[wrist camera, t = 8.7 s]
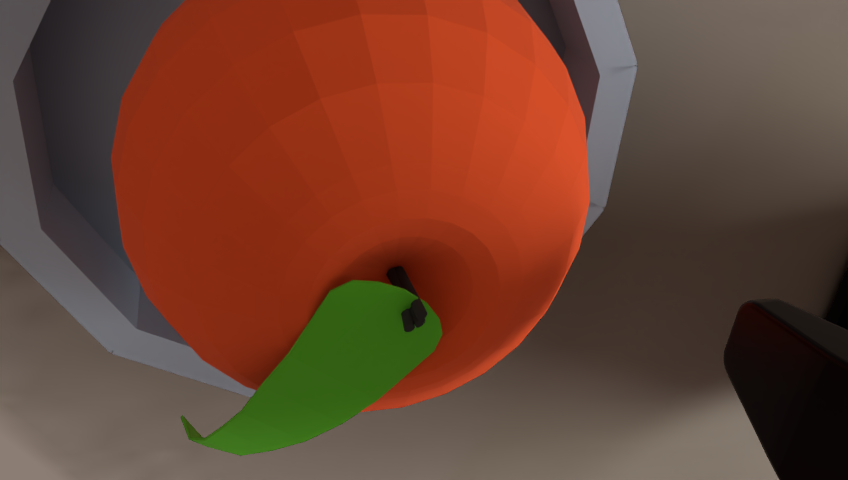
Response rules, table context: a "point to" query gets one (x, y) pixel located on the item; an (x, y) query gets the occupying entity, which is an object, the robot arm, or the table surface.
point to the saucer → (95, 131)
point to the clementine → (348, 198)
